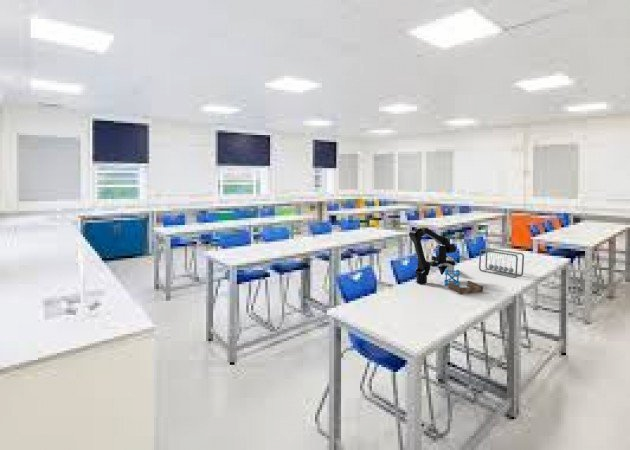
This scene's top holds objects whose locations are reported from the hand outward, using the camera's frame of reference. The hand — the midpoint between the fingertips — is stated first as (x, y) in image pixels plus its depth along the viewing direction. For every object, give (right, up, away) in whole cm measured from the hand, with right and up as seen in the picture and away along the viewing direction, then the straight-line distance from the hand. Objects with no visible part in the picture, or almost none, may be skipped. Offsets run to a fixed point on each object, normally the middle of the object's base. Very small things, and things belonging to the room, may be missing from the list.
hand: (441, 274), depth 276 cm
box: (+7, -7, -25) cm, 27 cm away
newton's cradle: (+52, -2, +17) cm, 54 cm away
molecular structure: (+3, -6, -11) cm, 13 cm away
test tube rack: (+13, -2, +22) cm, 25 cm away
